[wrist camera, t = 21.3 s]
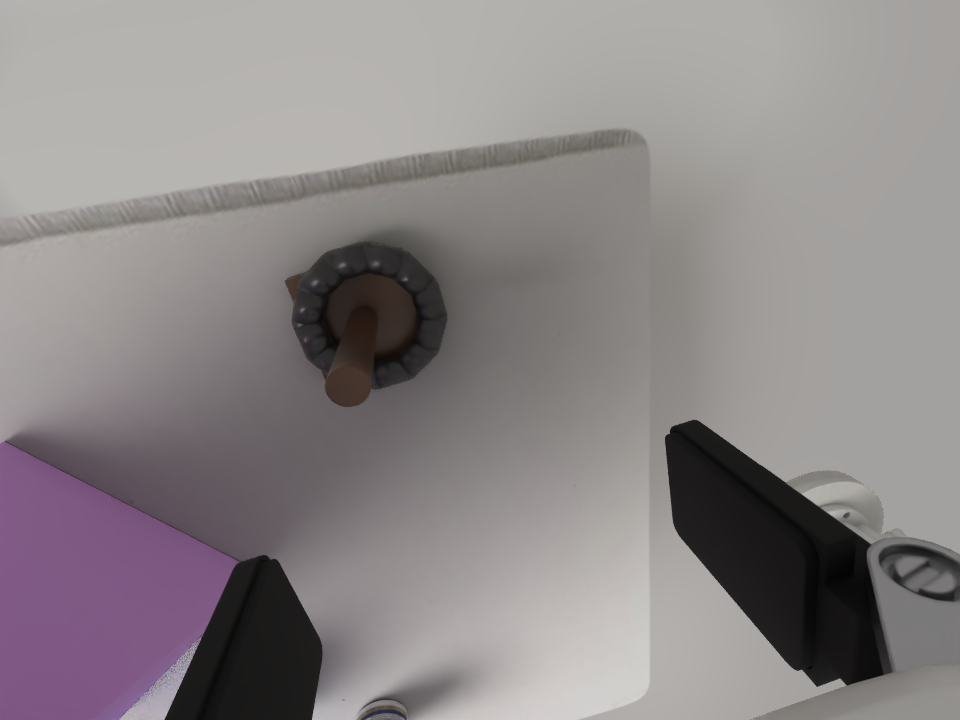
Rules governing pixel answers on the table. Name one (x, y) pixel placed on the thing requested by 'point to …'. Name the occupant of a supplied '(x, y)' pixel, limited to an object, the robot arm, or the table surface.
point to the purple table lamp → (91, 595)
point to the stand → (363, 331)
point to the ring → (382, 263)
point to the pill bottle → (383, 711)
